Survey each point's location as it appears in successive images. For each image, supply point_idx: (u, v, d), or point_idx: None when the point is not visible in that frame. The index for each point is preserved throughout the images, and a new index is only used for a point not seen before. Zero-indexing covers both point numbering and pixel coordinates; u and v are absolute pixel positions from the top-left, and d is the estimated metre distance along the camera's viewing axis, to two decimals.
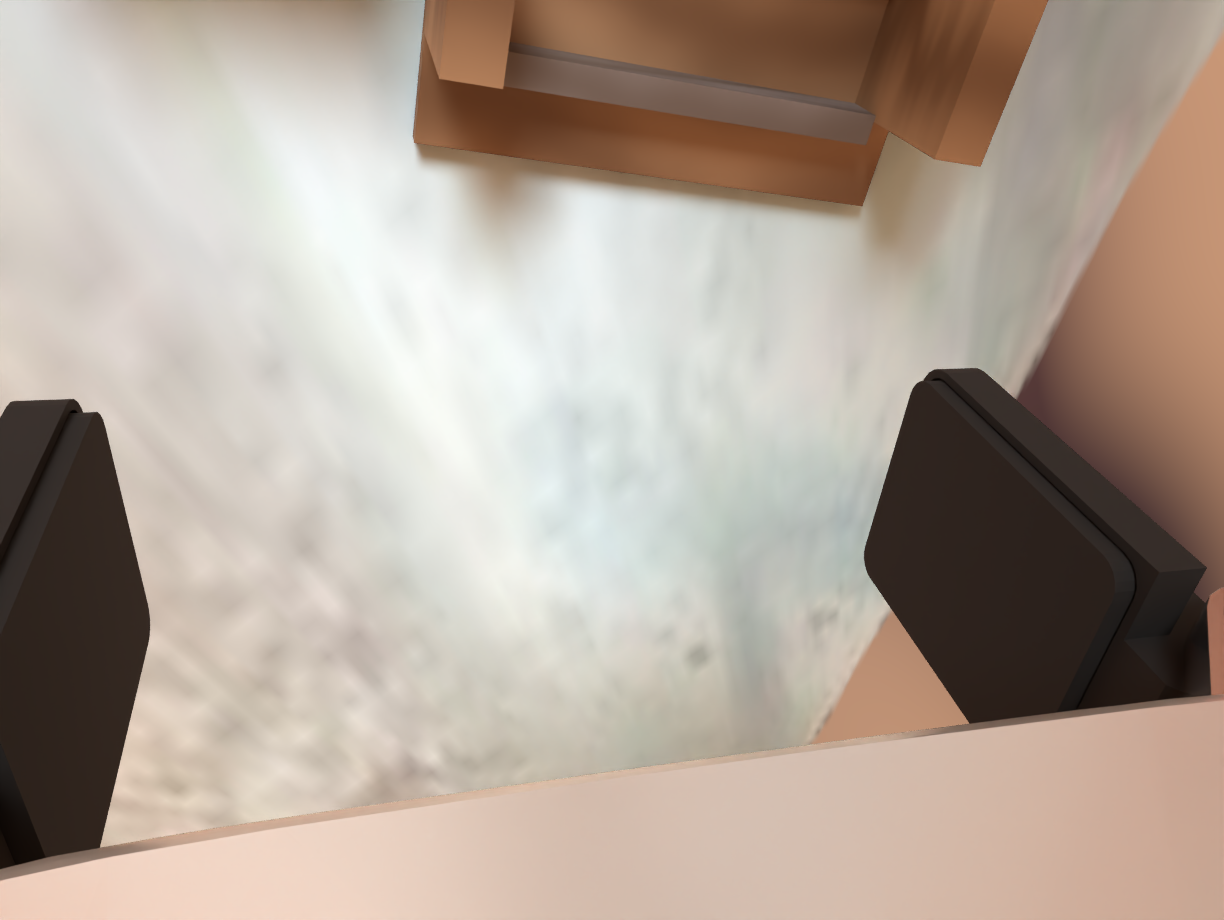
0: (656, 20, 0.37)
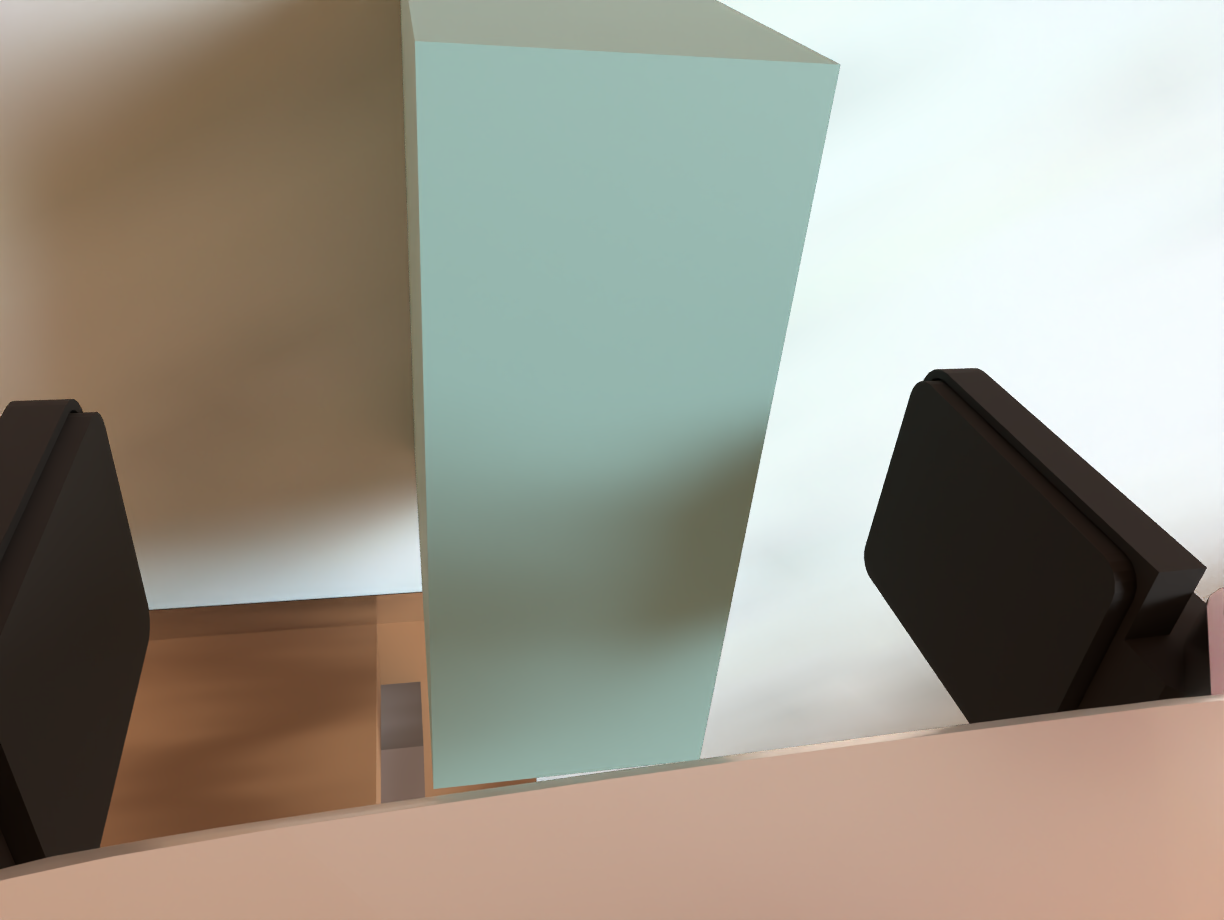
0: None
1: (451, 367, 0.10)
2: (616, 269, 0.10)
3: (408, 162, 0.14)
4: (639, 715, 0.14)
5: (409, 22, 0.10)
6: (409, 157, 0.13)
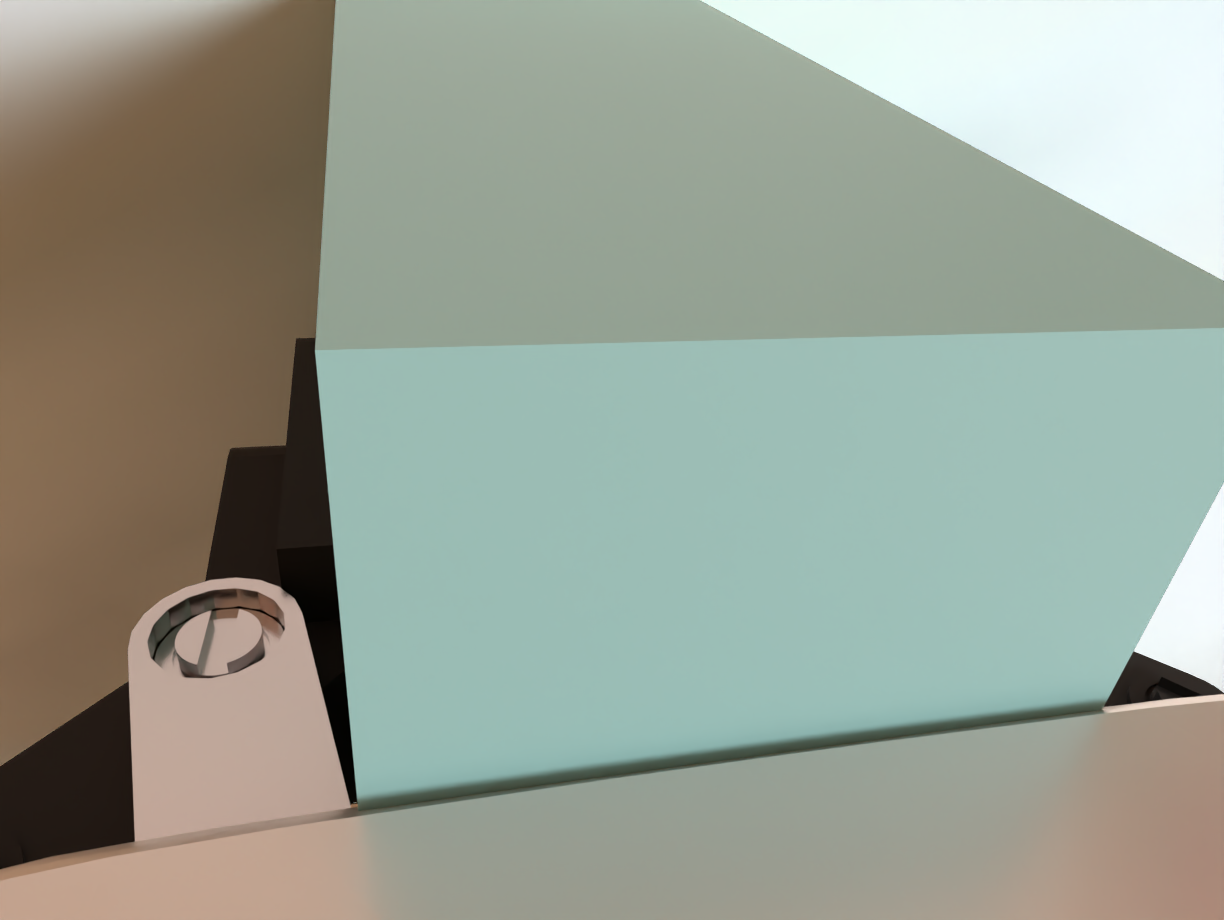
0: None
1: None
2: (774, 722, 0.05)
3: None
4: None
5: None
6: None
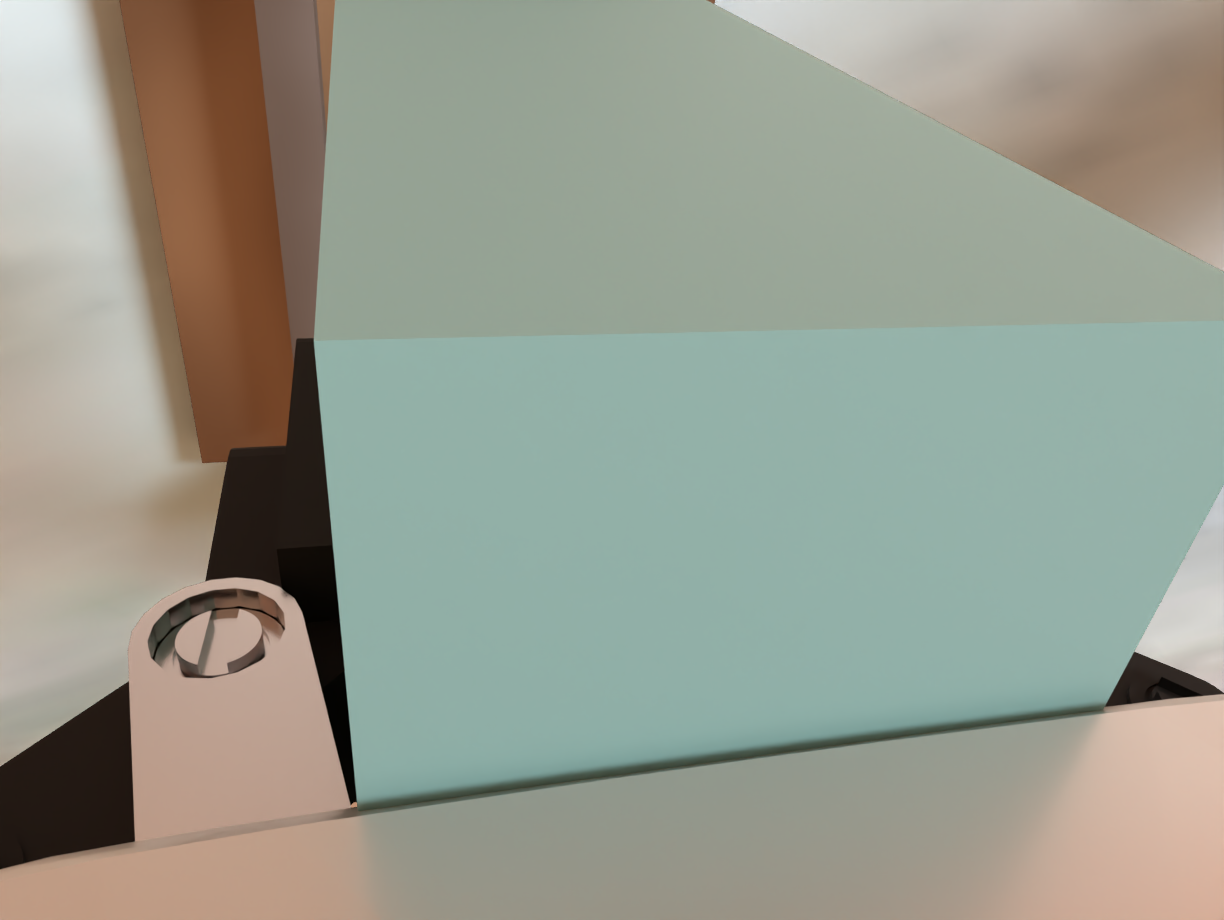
0: None
1: None
2: (775, 717, 0.05)
3: None
4: None
5: None
6: None
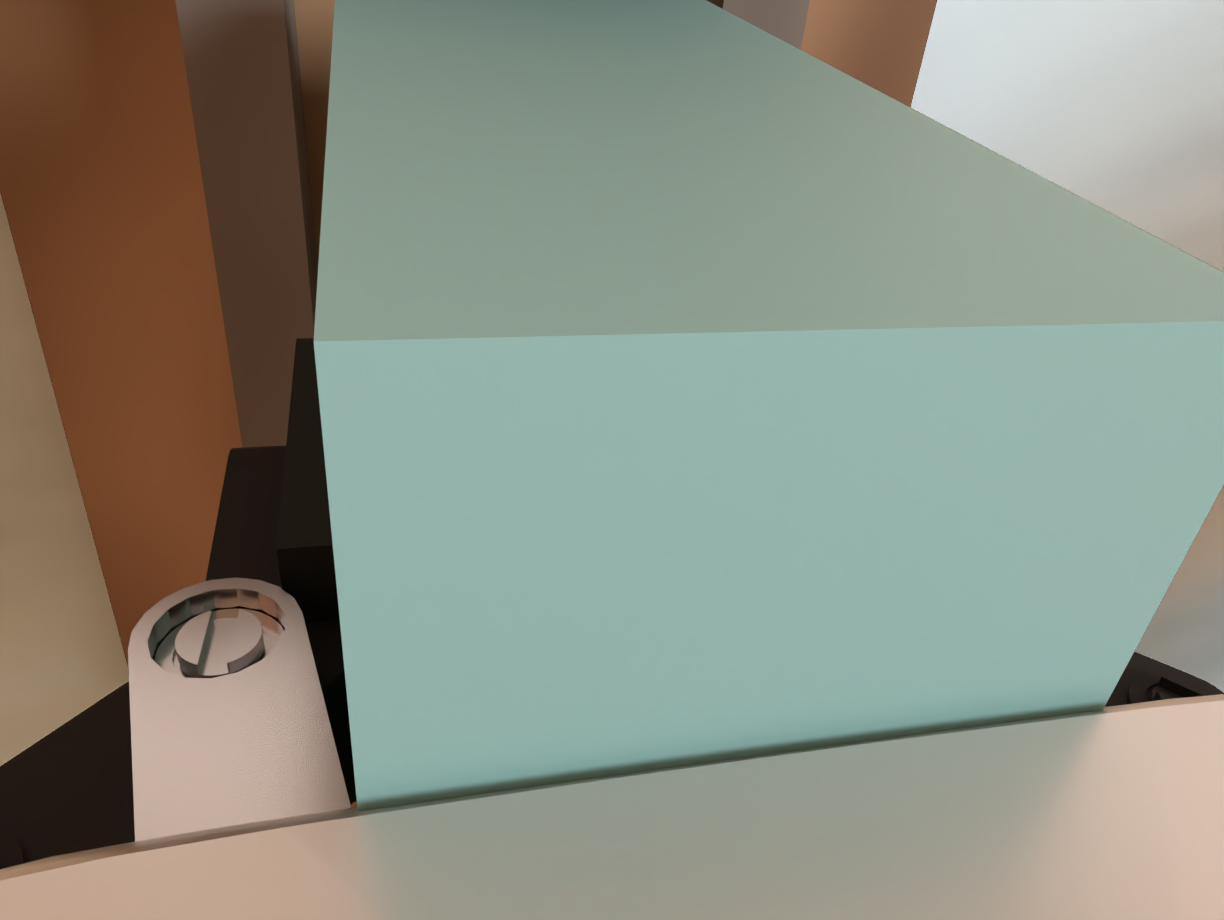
0: None
1: None
2: (775, 717, 0.05)
3: None
4: None
5: None
6: None
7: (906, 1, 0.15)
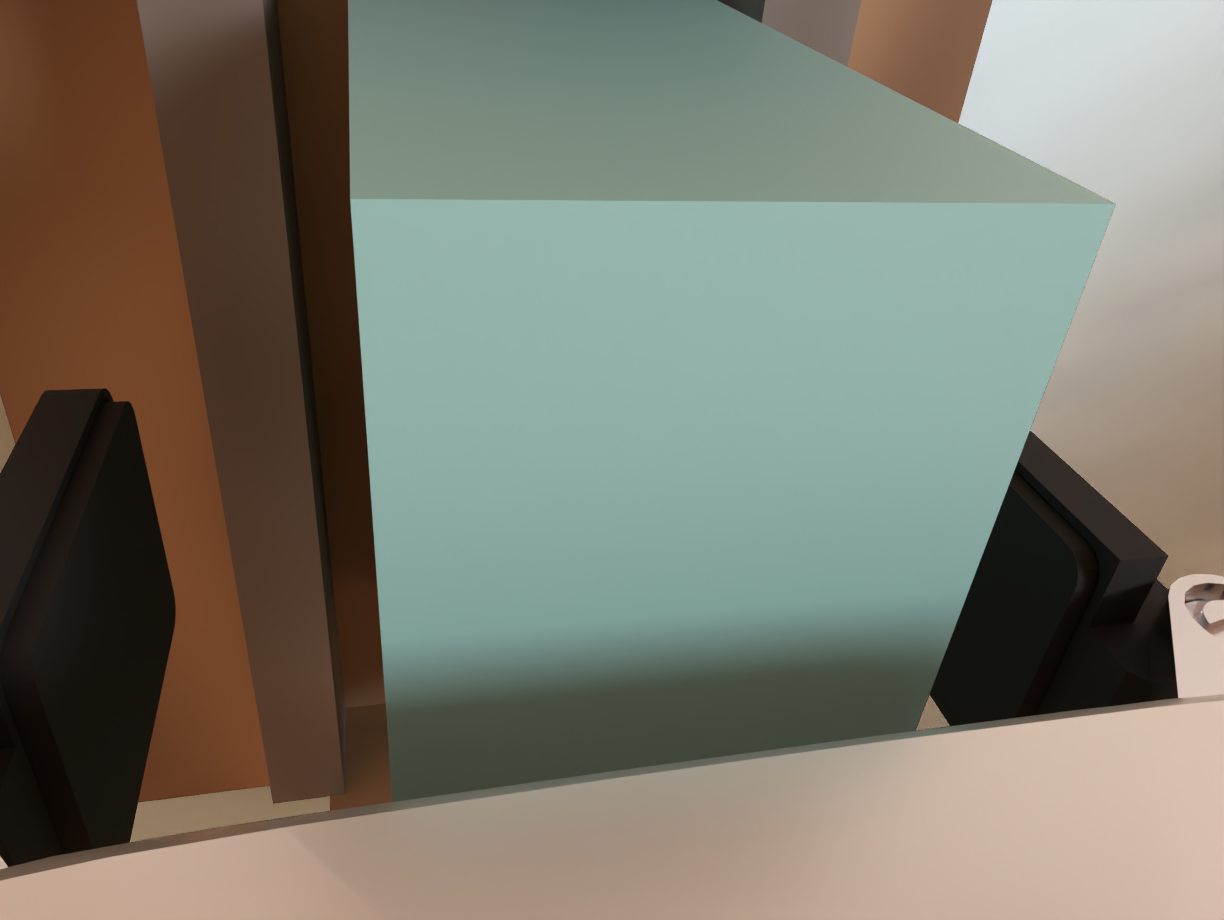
0: None
1: (430, 695, 0.06)
2: (711, 536, 0.06)
3: None
4: None
5: None
6: None
7: (953, 21, 0.14)
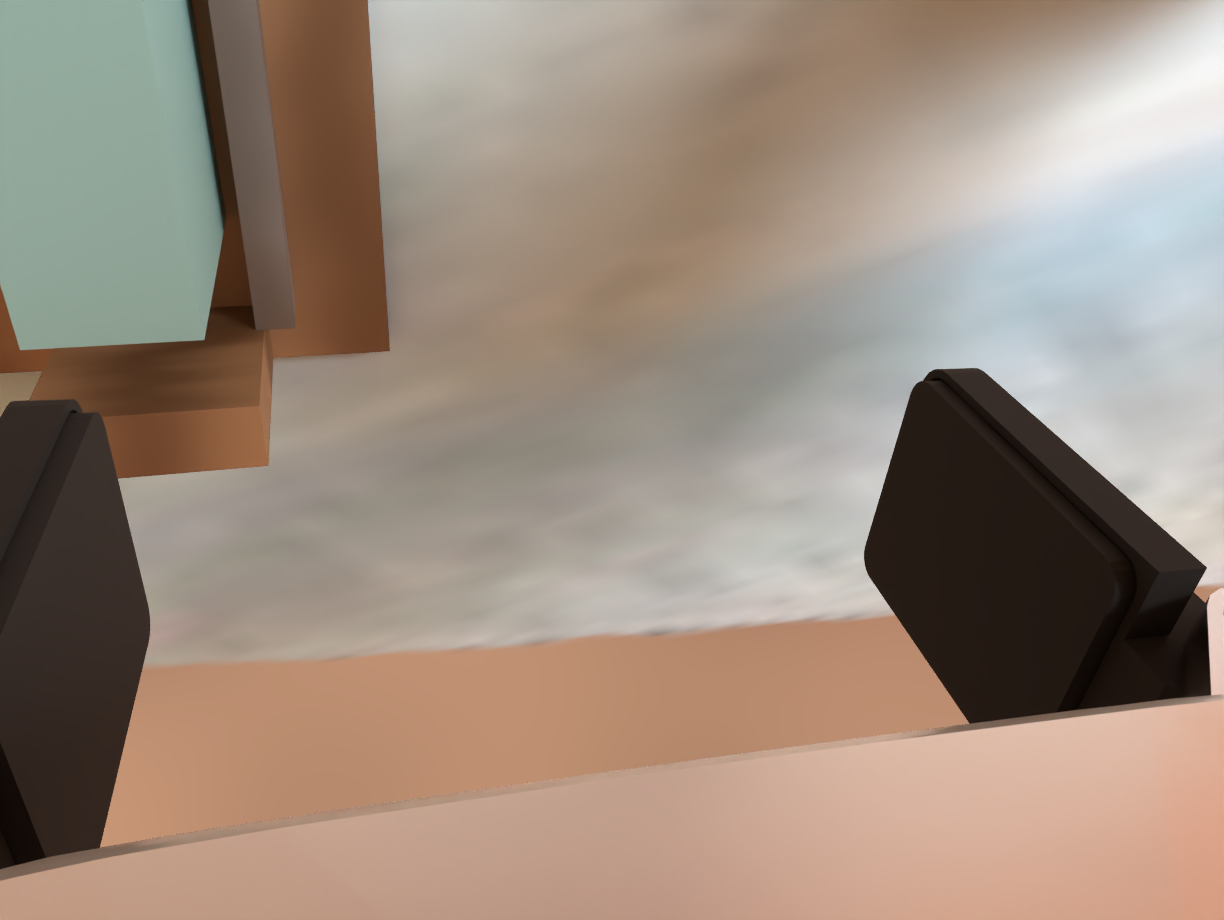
0: None
1: None
2: None
3: None
4: (147, 298, 0.22)
5: None
6: None
7: None
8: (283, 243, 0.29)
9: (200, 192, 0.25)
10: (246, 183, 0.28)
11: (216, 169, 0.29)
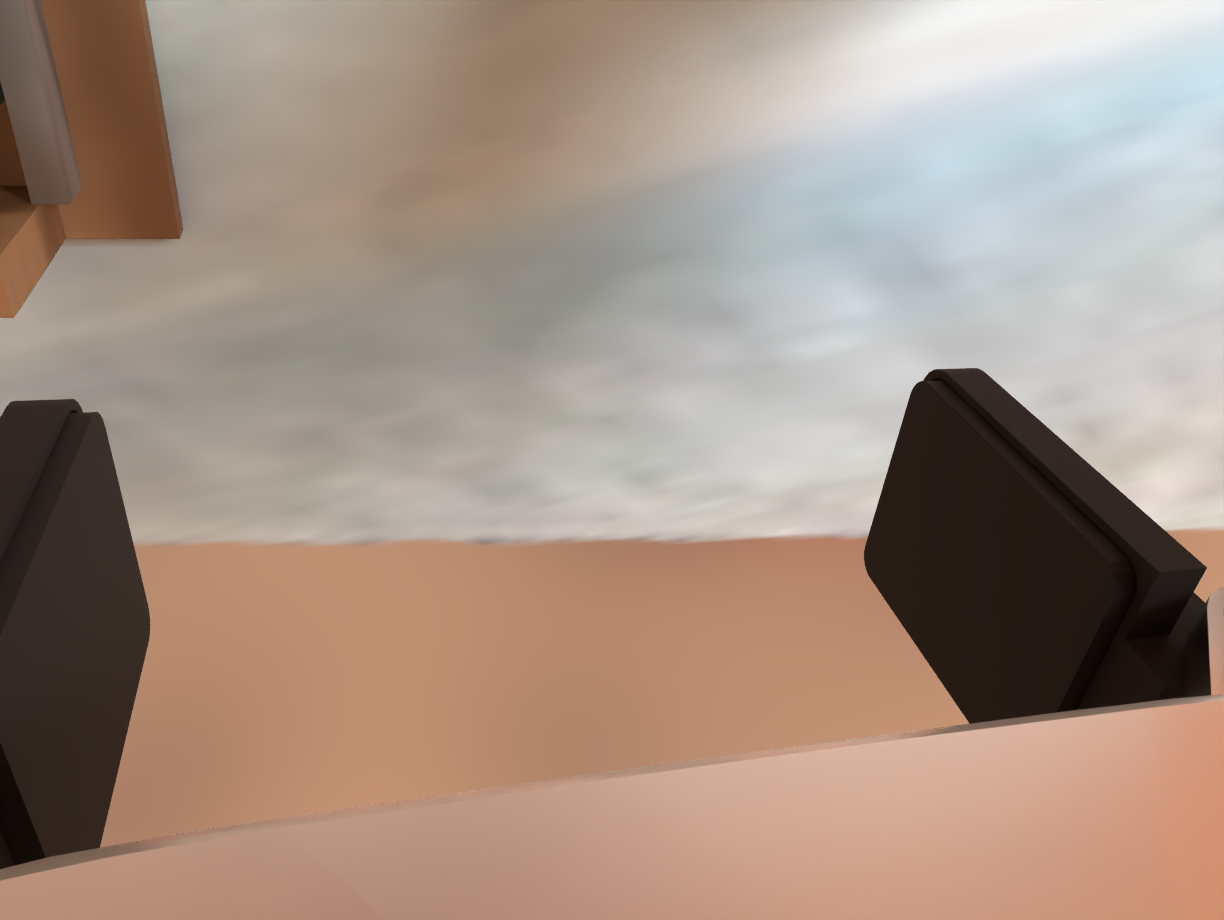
0: None
1: None
2: None
3: None
4: None
5: None
6: None
7: None
8: (49, 121, 0.32)
9: None
10: (6, 61, 0.31)
11: None
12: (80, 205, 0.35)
